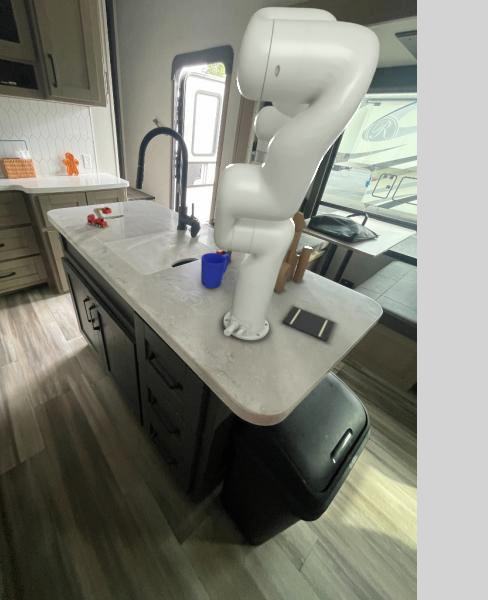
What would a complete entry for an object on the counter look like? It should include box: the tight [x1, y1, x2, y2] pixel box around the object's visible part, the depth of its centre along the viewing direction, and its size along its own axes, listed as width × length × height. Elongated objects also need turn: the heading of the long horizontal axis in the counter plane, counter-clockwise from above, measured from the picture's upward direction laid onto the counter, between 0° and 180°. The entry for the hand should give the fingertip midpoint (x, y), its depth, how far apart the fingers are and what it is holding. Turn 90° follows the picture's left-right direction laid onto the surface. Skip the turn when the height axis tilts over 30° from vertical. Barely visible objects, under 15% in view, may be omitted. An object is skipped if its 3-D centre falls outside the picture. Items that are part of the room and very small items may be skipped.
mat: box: [282, 306, 335, 342], centre depth 78 cm, size 10×12×1 cm
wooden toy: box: [273, 211, 313, 293], centre depth 89 cm, size 15×7×25 cm, turn 129°
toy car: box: [215, 248, 233, 263], centre depth 105 cm, size 8×4×6 cm, turn 144°
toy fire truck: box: [86, 206, 112, 228], centre depth 128 cm, size 3×14×10 cm, turn 64°
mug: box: [200, 252, 229, 289], centre depth 90 cm, size 8×12×10 cm
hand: (256, 214), depth 90 cm, fingers open, 9 cm apart
